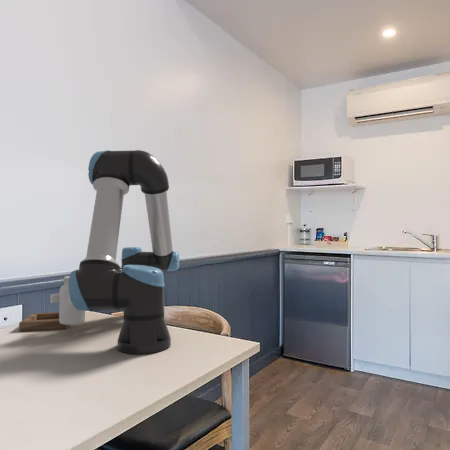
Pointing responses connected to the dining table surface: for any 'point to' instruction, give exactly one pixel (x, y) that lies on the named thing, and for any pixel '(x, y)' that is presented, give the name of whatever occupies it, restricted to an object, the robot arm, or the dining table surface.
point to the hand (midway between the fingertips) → (59, 299)
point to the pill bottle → (68, 307)
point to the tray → (42, 322)
